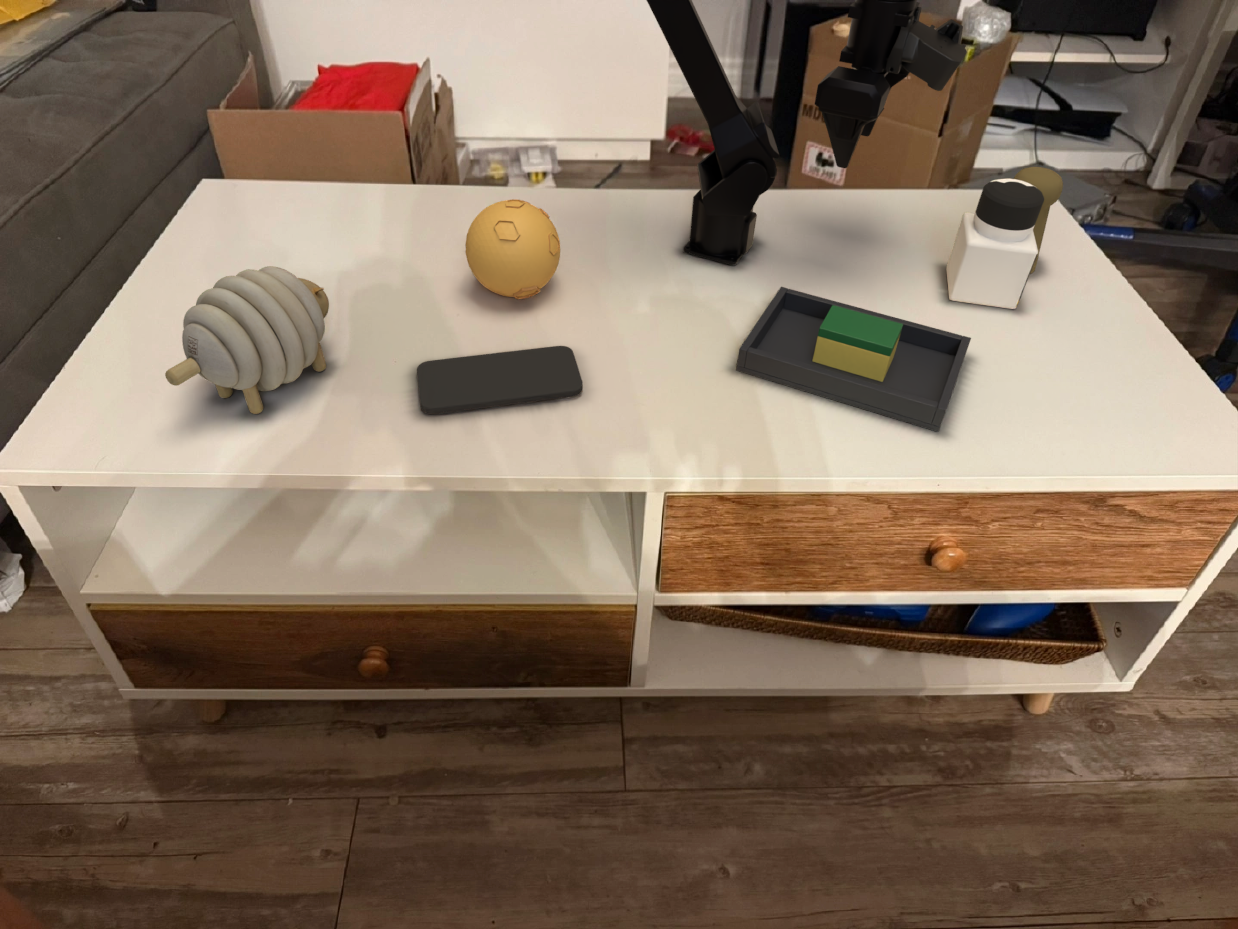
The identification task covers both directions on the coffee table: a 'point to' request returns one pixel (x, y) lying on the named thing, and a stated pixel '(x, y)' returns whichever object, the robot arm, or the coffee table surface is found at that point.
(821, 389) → the tray
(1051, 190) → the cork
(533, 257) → the stress ball
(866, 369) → the sponge
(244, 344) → the toy sheep
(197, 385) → the coffee table surface
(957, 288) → the medicine bottle
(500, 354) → the phone
